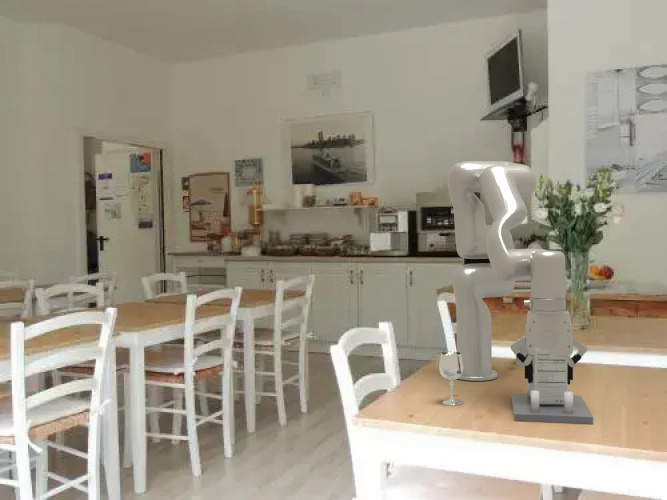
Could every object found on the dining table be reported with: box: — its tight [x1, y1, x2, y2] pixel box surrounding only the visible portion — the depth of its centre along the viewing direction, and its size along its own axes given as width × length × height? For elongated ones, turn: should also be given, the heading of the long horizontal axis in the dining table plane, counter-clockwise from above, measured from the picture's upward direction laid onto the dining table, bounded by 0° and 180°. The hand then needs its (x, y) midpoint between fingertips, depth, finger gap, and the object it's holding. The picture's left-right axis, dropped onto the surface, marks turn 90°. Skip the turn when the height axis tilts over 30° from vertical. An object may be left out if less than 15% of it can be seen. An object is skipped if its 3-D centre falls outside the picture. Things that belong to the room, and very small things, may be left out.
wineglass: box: [438, 350, 464, 406], centre depth 160 cm, size 6×6×12 cm
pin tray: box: [510, 379, 594, 425], centre depth 152 cm, size 16×18×6 cm
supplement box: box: [529, 349, 568, 404], centre depth 153 cm, size 7×7×13 cm
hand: (548, 382), depth 152 cm, fingers closed on supplement box, 7 cm apart
